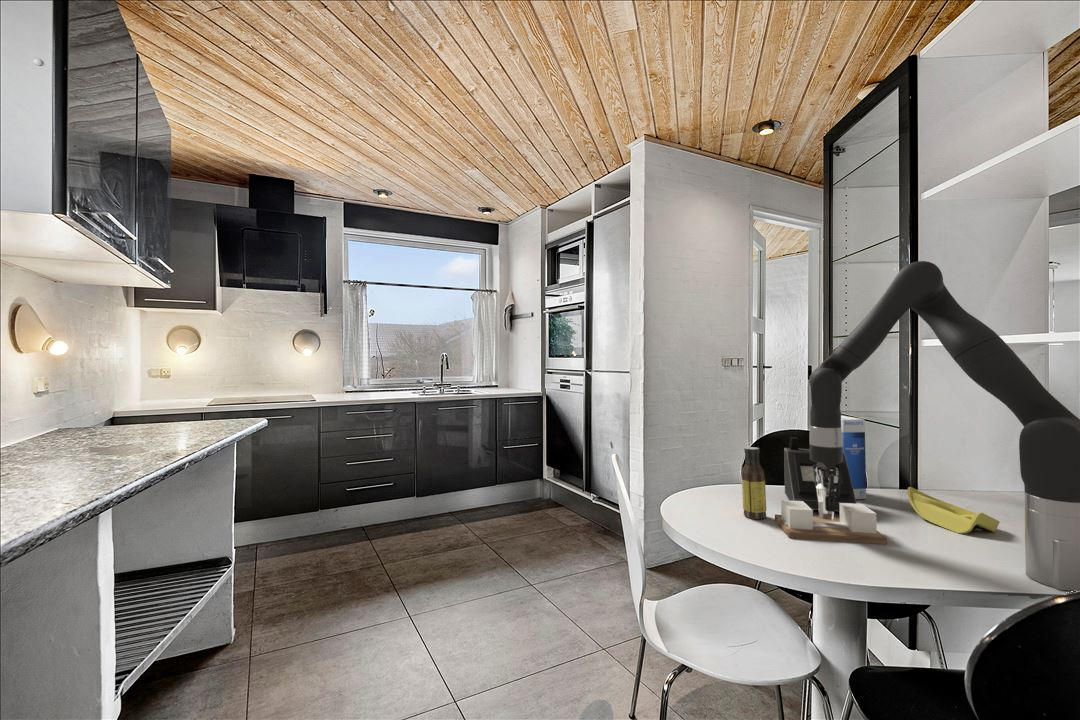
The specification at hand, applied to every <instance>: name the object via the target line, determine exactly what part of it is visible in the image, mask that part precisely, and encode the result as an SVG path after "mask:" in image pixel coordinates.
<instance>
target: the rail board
mask: <svg viewBox="0 0 1080 720" xmlns="http://www.w3.org/2000/svg"><path fill="white" fill-rule="evenodd" d="M774 521H775V522H776V523H777V524H778V526H779V527H780V529H782V531H783V532H784V534H785V535H786V536H787V537H788V539H800V540H815V541H816V540H817V541H828V542H831V541H832V542H833V541H834V542H847V543H859V544H860V543H862V544H874V545H875V544H878V545H888V538H887V536H885V535H883V534H882V533H881V532H880V531H878V530H877V533H861V532H852V531H850V530H849V527H847V526H846V525H845V524H844V523H843V522H840V517H834V519H833V520H824V519H821V518H820V517H819V516H813V530H811V529H794V528H789V527H788V524H787V523H786V522H785V520H784V519H782V518H781V514H774Z"/></svg>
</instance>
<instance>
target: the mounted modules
mask: <svg viewBox="0 0 1080 720" xmlns="http://www.w3.org/2000/svg"><path fill="white" fill-rule="evenodd" d="M780 502H781V503H780V507H781V509H780V510H781V513H780V515H781V518H782V519H784V520H785V522H786V523H787V524H788V527H789V528H794V529H811V530H813V517H814V509H811V508H810V507H809V506H808V505H807V504H805V503H804V502H803V501H789V499H788V500H786V499H781V500H780ZM839 507H840V511H839V518H840V522H843V523H844V524H845V525H846V526H847V527H849V530H850V531H852V532H861V533H877V531H878V530H877V512H875V511H873V510H872V509H870V508H869V507H867V506H866V505H865V504H863V503H857V504H852V503H839Z"/></svg>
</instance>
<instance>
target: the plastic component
mask: <svg viewBox="0 0 1080 720" xmlns="http://www.w3.org/2000/svg"><path fill="white" fill-rule="evenodd" d="M907 497H908V501H909V503H910V505H911V507H912V508H913V510H914V511H915V512H916V513H917V515H919V516H920V517H921V518H923V519H924V520H926V521H928V522H930V523H932V524H934V525H937V526H939V527H941V528H944V529H946V530H949V531H951V532H954V533H957V534H959V535H960V534H962V535H965V534H968V533H970V532H971V531H973V530H974V527H975V526H976V527H978V528H981V529H984V530H986V531H989V532H993V533H995V532H996V531H997V529H998V527H999V524H1000V523H1001V521H999V520H998V519H996V518H994V517H992V516H989V515H987V514H986V513H983V512H981V511H978V512H973V511H971V510H969V509H965V508H963V507H960V506H957V505H954V504H951V503H949V502H946V501H944V500H941V499H938V498H936V497H933V496H931V495H929V494H926V493H924V492H922V491H920V490H918V489H916V488H914V487H912V486H909V487H907Z"/></svg>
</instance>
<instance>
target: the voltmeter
mask: <svg viewBox="0 0 1080 720" xmlns="http://www.w3.org/2000/svg"><path fill="white" fill-rule="evenodd" d="M788 446H789V447H784V449H783V451H784V452H783V454H784V456H783V458H784V462H783V463H784V468H783V469H784V494H785V496H786V498H787V499H788V500H789V501H803V502H804V503H805V504H807V505H808V506H809V507H810V508H811V509H812V510H815V511H816V510H818V499H817V491H816V487H815V481H814V473H813V465H817V462H814V461H812V460H811V459H810V448H799V438H798V437H794V436H793V437H792V436H791V437H789V445H788ZM835 466H836V470H837V474H838V475H841V477H842V479H841V487H840V496H839V497H835V503H836V511H835V512H840V507H839V503H852V504H858V503H857V499H855V495H854V491H853V486H852V482H851V478H850V474H849V469H848V465H847V461H846V457H845V453H844V452H843V462H842V463H839V464H838V463H837V464H836V465H835ZM818 511H819V510H818Z"/></svg>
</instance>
